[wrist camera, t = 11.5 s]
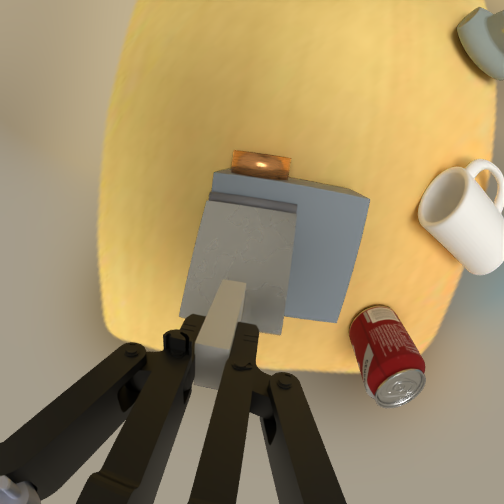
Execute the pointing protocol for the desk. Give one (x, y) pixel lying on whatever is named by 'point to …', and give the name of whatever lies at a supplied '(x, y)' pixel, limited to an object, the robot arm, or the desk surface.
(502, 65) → the air freshener
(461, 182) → the mug
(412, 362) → the soda can
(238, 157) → the pin
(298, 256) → the grey box with lid
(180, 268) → the desk surface
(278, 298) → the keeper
